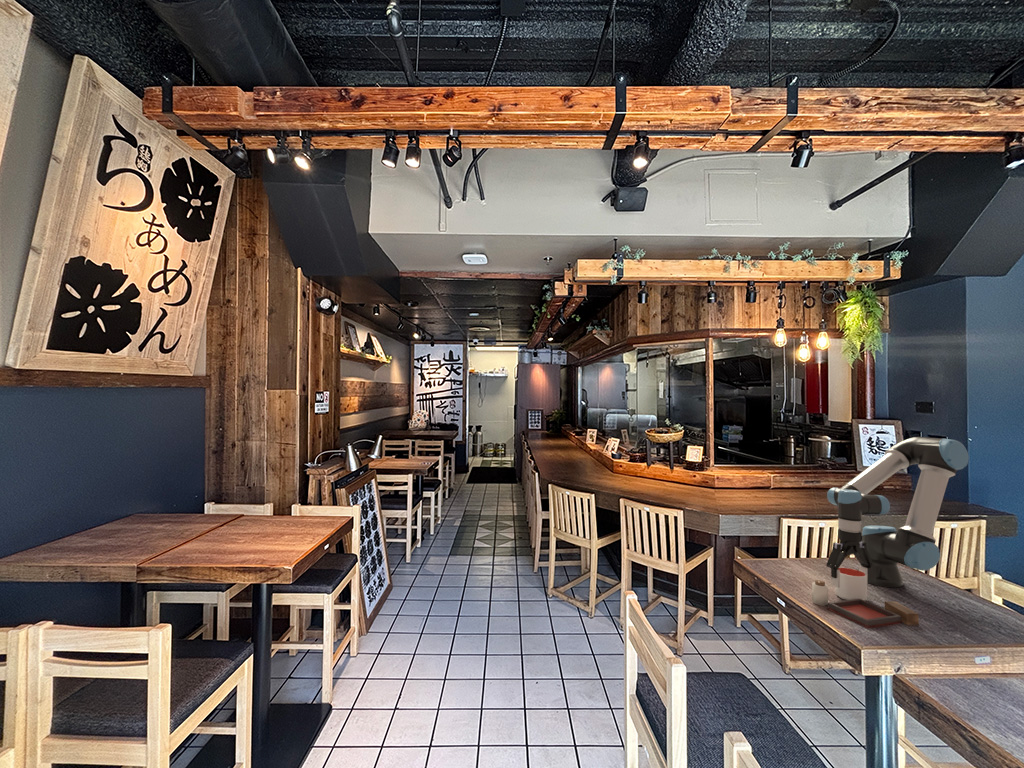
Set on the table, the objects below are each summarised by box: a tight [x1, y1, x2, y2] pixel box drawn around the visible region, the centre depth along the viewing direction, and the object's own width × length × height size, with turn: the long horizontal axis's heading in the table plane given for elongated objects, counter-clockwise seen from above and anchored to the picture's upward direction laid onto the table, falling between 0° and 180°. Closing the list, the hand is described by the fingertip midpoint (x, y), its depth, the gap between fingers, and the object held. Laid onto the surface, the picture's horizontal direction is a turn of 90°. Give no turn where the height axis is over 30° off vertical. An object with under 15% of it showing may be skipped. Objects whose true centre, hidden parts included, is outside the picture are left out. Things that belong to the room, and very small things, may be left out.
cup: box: [834, 567, 868, 601], centre depth 184 cm, size 10×10×10 cm
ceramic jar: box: [811, 579, 829, 607], centre depth 179 cm, size 5×5×8 cm
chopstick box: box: [884, 600, 920, 626], centre depth 167 cm, size 4×10×4 cm, turn 178°
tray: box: [827, 599, 903, 629], centre depth 169 cm, size 15×15×2 cm
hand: (849, 585), depth 184 cm, fingers open, 13 cm apart
